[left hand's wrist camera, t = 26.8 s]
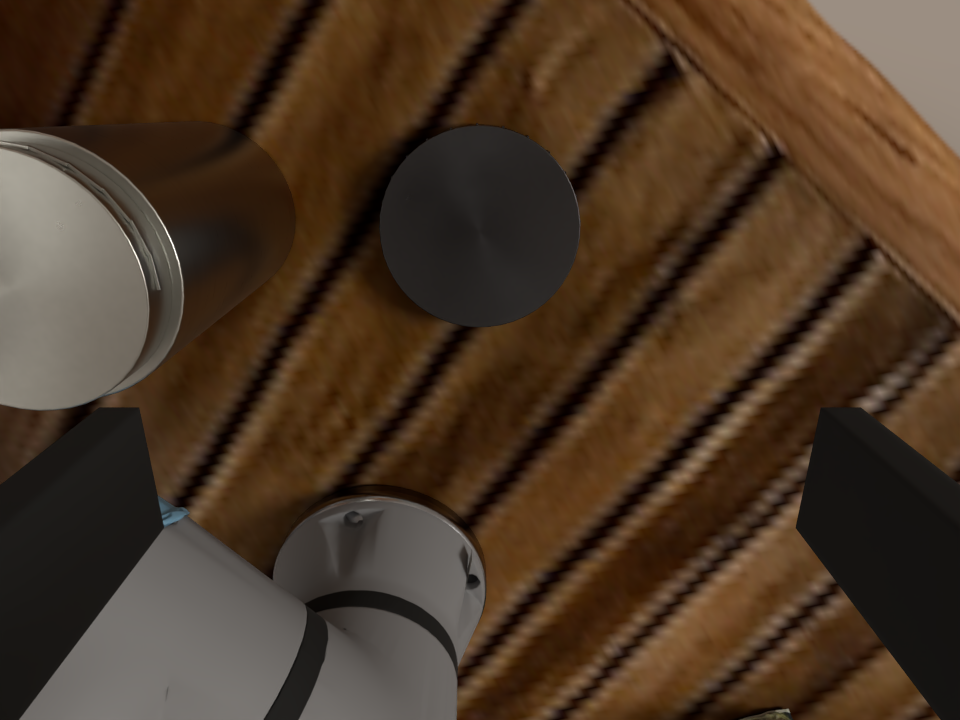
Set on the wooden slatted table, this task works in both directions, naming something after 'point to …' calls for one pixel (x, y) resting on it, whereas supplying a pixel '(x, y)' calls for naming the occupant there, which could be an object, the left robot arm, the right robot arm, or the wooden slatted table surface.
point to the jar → (126, 250)
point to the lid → (479, 226)
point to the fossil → (772, 715)
